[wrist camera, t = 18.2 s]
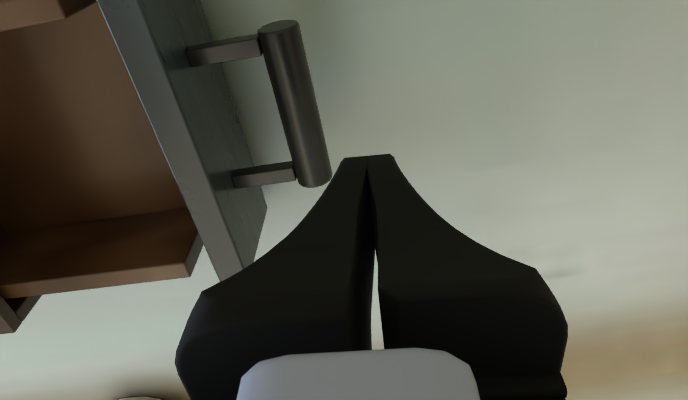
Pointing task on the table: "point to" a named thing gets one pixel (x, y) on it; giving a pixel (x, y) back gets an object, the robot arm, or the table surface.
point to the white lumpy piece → (139, 398)
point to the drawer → (136, 143)
